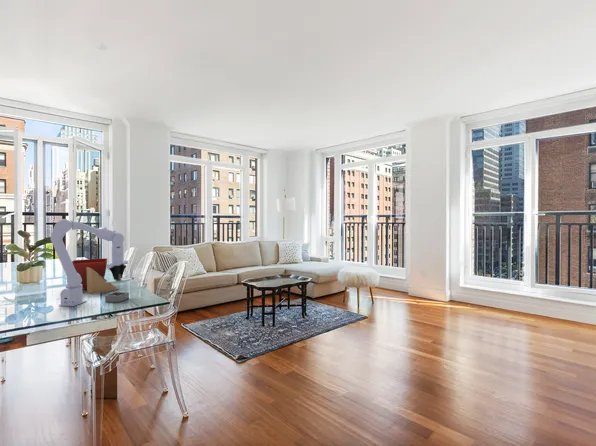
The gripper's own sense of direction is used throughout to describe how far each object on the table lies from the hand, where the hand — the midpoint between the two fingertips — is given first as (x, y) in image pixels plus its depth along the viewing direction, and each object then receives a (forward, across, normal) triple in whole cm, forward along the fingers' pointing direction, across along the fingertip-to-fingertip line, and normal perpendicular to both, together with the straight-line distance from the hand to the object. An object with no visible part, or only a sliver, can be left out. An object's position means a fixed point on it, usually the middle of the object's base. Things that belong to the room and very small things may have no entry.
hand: (118, 278), depth 184 cm
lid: (+2, 0, 0) cm, 2 cm away
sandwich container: (+11, +14, +20) cm, 26 cm away
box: (+10, -5, -4) cm, 12 cm away
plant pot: (+11, +20, +35) cm, 42 cm away
